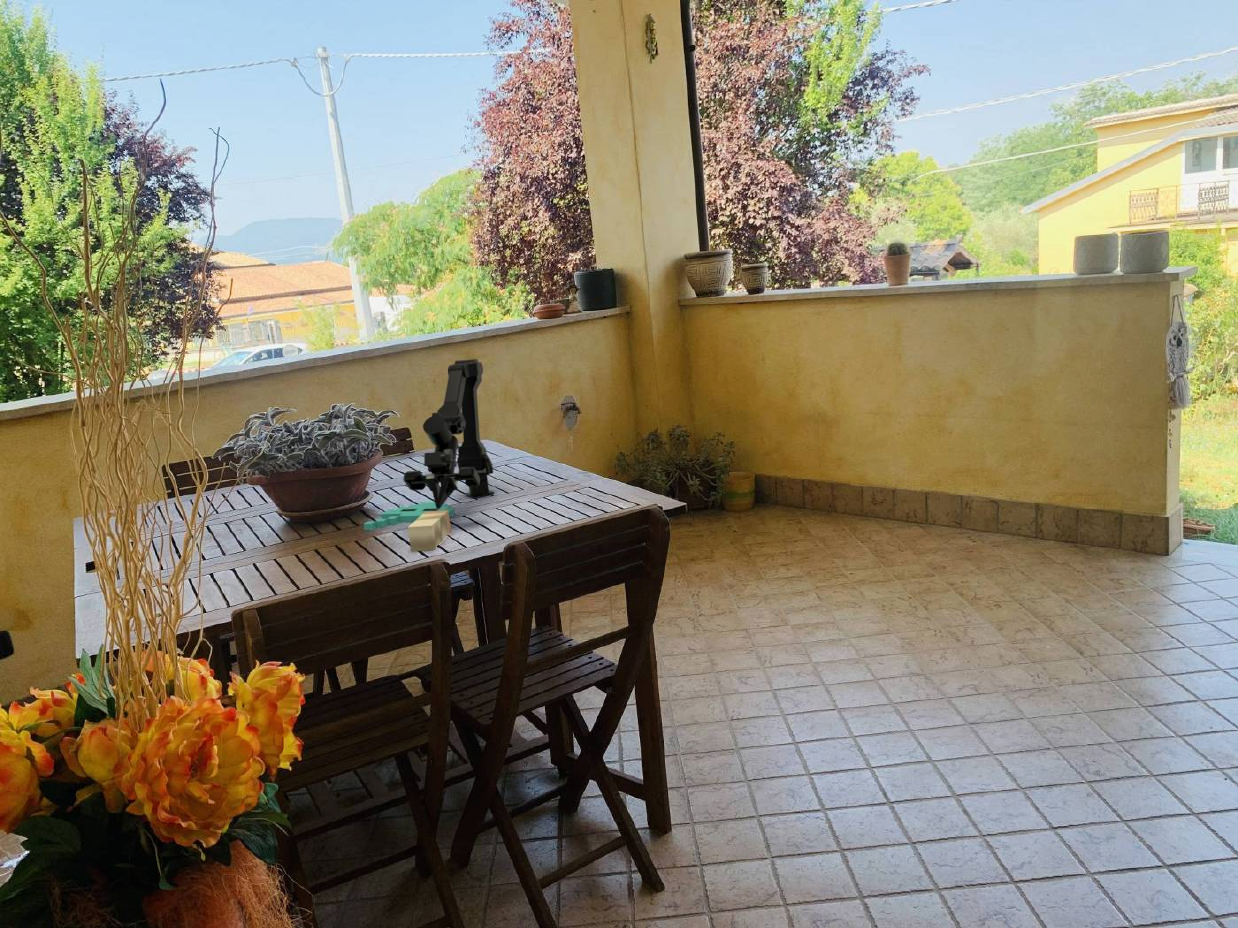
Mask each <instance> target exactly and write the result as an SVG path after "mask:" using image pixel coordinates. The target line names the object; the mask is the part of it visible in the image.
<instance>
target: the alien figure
mask: <svg viewBox="0 0 1238 928" xmlns="http://www.w3.org/2000/svg"><path fill="white" fill-rule="evenodd" d="M432 511H448V512H449V519H451V518H452V517H453V516H452V515H453V514H455V515H456V509H455V507H453V508H452V505H448V504H447V503H444V504H443V505H442V507H441V508H438V509H437V508H436V505H435V501H427V502H426V501H424V502H420V503H417V504H410V505H408V506H400V507H398V508H396V509H387V510H385V511H384V512H382V513H380V518H378V519H377V520H374V521H373V520H372V521H369V520H368V521H366V522H364V523H363V527H364V531H373V530H375V529H379V528H386V527H387V526H396V525H398V524H400V523H413V522H414V521H415V520H417V519H418V518H419V517H420V516H421V515H422V514H423V513H425V512H432ZM451 516H452V517H451ZM450 517H451V518H450Z"/></svg>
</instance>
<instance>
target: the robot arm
mask: <svg viewBox="0 0 1238 928" xmlns="http://www.w3.org/2000/svg"><path fill="white" fill-rule="evenodd" d="M483 373H484V367H483V363H482V362H479V359H477V358H472V359H471V358H470V359H460V360H454V364H449V365H448V368H447V374H448V376H447V377H448V378H447V384H446V388H445V395H444V399H443V404H442V406H440V408H439V409H438V410H437V412H432V413H431V416H430V417H428V418H427V419H426V420H425V421H424V422H423V425H422V428H423V431H424V432H425V434H426V436H427V438H428V439H429V441H430V443H431V444H433V445H434V452H433V451H432V452H425V453H424V455H423V456H424V457H423V458H424V461H423V462H424V463H423V465H424V467H427V471H428V472H429V473H425V475H423V473H422V472H421V470H407V471H406V472H405V473H404V474H403V481H404V483H405V484H406V485H407V487H408V489H409V490H411V491H422V490H424V489H425V488H426V487H428V489H429V491H430V492H432V496H433V502H435V505H436V508H437V509H438V508H441V507H442V505H443V504H445V502H446V501H447V500H448V499H449V497H450V496H451V495H452V494H453V493H454V491H457V490H458V489H459V488H458V483H459V482H460V481H461V482H463V481H465V482H464V484H465V485H466V486H467V487H468V490H469V492H466V493H464V495H465V496H467V497H470V498H473V499H478V498H481V497H485V496H489V495H494V494H495V491H493V490H490V488H489V487H490V486H489V480H488V479H489V478H488V476H490V475H491V474H493V473H494V465H493V462H492V461H491V459H490V457H489V455H488V453H487V448H486V447H485V445H484V444H483V442H482V441H481V439H480V438H481V435H480V423H479V422H480V421H479V420H480V419H479V406H478V389H479V386H480V384H481V383H482V381H483V379H482V377H483ZM461 434H463V435H462V437H463V441H462V443H461V445H459V440H458V438H457V437H456V436H455V435H461ZM457 454H458V455H457ZM457 467H458V472H455V468H457Z"/></svg>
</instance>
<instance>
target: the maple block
mask: <svg viewBox="0 0 1238 928" xmlns="http://www.w3.org/2000/svg"><path fill="white" fill-rule="evenodd" d="M450 519H451V518H449V512H448V511H432V512H425V513H423V514H422V515H421V516H420V517H419V518H418V519H417V520H415V521H414V522H411V524H409V525H408V526H407V532H408V538H409V539H408V540H409V545H410V551H411V552H421V551H435V549H436V547H437V546H438V545H439V544H440V543H441V542H442V541H443V540H444V538H445V537H446V536H447V535H449V534H450V533H451V534H452V528H451V526H452V525H451V521H450ZM451 534H450V535H451ZM450 535H449V536H450ZM444 541H445V540H444ZM444 541H443V542H444ZM436 550H437V549H436Z"/></svg>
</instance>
